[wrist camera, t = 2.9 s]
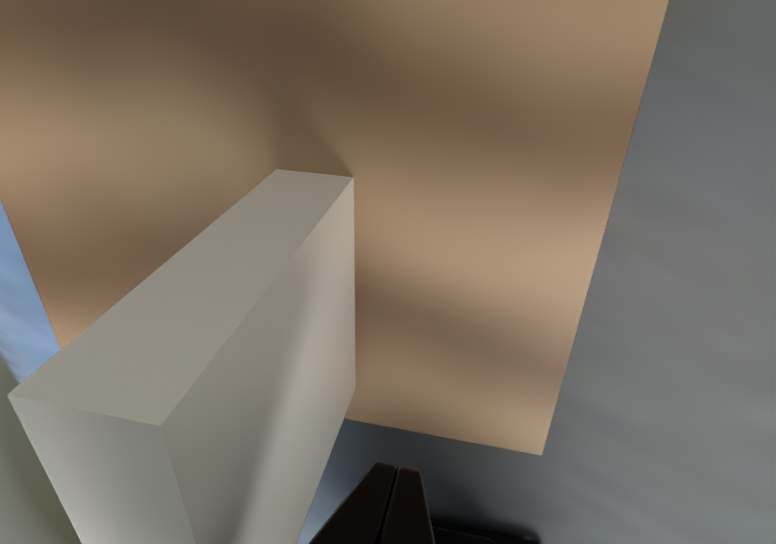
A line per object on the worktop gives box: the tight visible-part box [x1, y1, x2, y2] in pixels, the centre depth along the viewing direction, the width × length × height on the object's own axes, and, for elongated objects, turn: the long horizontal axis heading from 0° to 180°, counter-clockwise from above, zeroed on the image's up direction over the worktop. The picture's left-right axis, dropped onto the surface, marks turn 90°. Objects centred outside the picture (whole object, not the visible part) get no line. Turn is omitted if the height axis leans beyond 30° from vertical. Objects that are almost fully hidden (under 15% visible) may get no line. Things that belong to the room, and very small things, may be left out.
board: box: [0, 0, 669, 456], centre depth 12 cm, size 22×17×1 cm
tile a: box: [7, 169, 356, 544], centre depth 11 cm, size 7×2×8 cm, turn 179°
